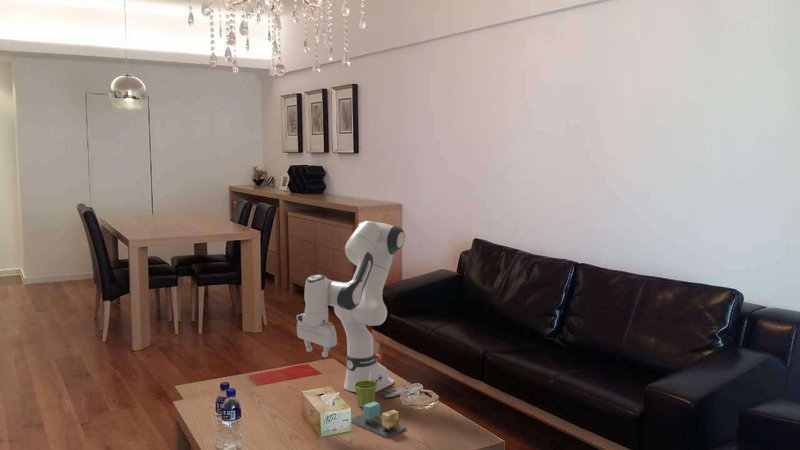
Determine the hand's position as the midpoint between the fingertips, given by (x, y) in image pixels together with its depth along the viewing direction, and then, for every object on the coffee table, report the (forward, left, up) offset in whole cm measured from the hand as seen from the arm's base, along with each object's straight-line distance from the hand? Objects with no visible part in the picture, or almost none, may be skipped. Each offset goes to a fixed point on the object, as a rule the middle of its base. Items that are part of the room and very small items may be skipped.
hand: (316, 353), depth 255 cm
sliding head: (-9, +21, -23) cm, 32 cm away
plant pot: (-19, +6, -24) cm, 32 cm away
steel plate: (-9, +24, -24) cm, 35 cm away
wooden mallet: (-9, +24, -23) cm, 34 cm away
